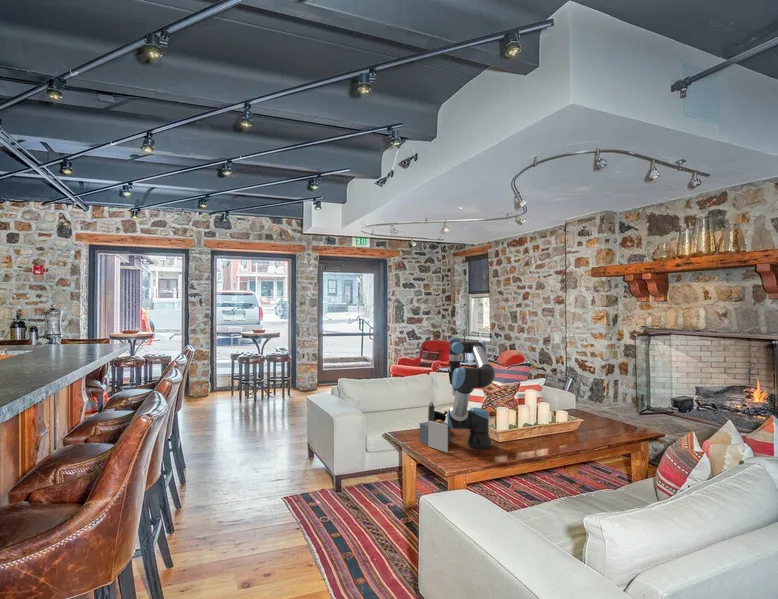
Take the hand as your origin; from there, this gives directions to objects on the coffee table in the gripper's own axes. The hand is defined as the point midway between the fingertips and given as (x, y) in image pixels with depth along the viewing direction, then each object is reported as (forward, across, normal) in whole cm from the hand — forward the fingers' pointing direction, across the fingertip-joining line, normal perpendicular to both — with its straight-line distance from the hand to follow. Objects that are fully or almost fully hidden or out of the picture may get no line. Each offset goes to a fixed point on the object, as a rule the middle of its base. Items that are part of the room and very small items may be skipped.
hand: (454, 395), depth 315 cm
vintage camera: (+29, +16, +2) cm, 33 cm away
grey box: (+28, -4, +18) cm, 34 cm away
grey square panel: (+28, -18, +25) cm, 42 cm away
